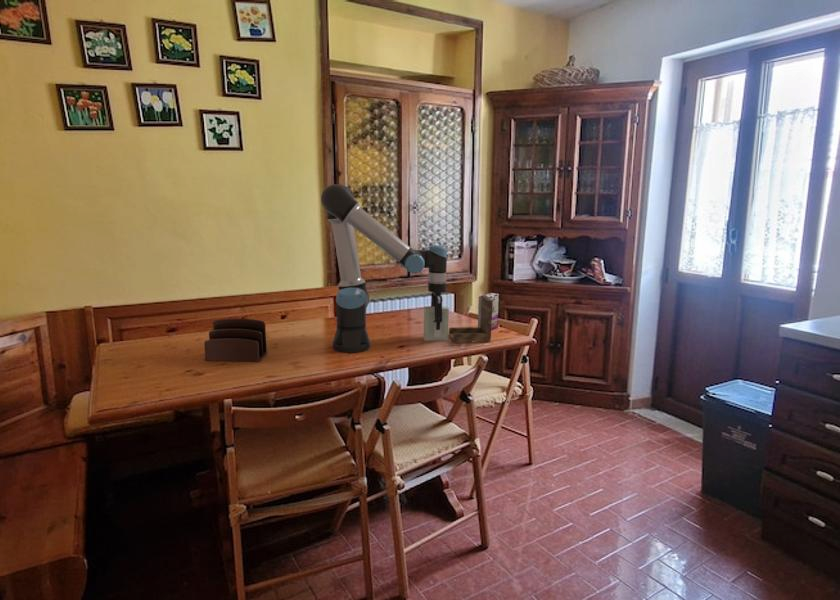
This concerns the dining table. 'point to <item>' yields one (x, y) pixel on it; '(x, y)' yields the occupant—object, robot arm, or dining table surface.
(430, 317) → the door panel
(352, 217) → the robot arm
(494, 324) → the candy bar box
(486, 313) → the track
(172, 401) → the dining table surface
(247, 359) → the letter holder
